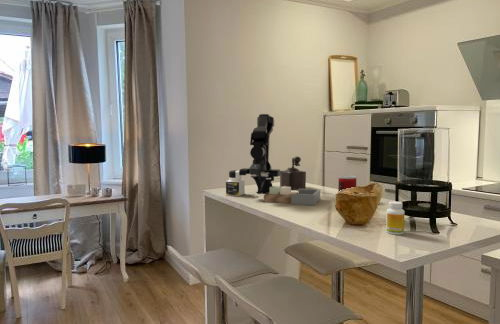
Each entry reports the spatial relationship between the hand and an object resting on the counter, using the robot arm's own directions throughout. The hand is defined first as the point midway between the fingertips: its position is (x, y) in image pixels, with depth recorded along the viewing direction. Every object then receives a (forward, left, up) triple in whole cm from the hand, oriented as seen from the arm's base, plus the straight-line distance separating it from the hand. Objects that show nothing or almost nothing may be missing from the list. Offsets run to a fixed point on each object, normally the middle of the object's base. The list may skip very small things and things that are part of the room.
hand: (259, 190), depth 182 cm
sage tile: (+7, 0, -1) cm, 7 cm away
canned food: (+39, +9, -4) cm, 40 cm away
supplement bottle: (+59, -41, -4) cm, 72 cm away
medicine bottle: (-15, +7, -4) cm, 17 cm away
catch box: (+22, 0, -4) cm, 22 cm away
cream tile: (+12, 0, -1) cm, 12 cm away
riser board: (+10, 0, -4) cm, 11 cm away
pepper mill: (+9, +34, -4) cm, 35 cm away
